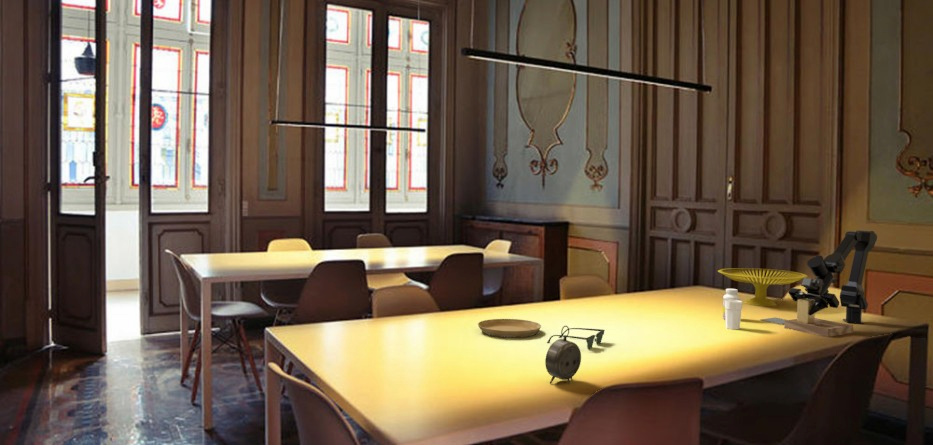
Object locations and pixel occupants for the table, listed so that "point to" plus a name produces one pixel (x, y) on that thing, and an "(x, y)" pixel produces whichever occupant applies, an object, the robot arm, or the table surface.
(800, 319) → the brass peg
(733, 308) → the cup
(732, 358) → the table surface
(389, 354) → the table surface
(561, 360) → the alarm clock
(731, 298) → the supplement bottle
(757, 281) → the slatted pedestal fruit bowl
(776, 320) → the slate mat
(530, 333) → the plant saucer
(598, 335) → the sunglasses
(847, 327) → the two-hole peg block
